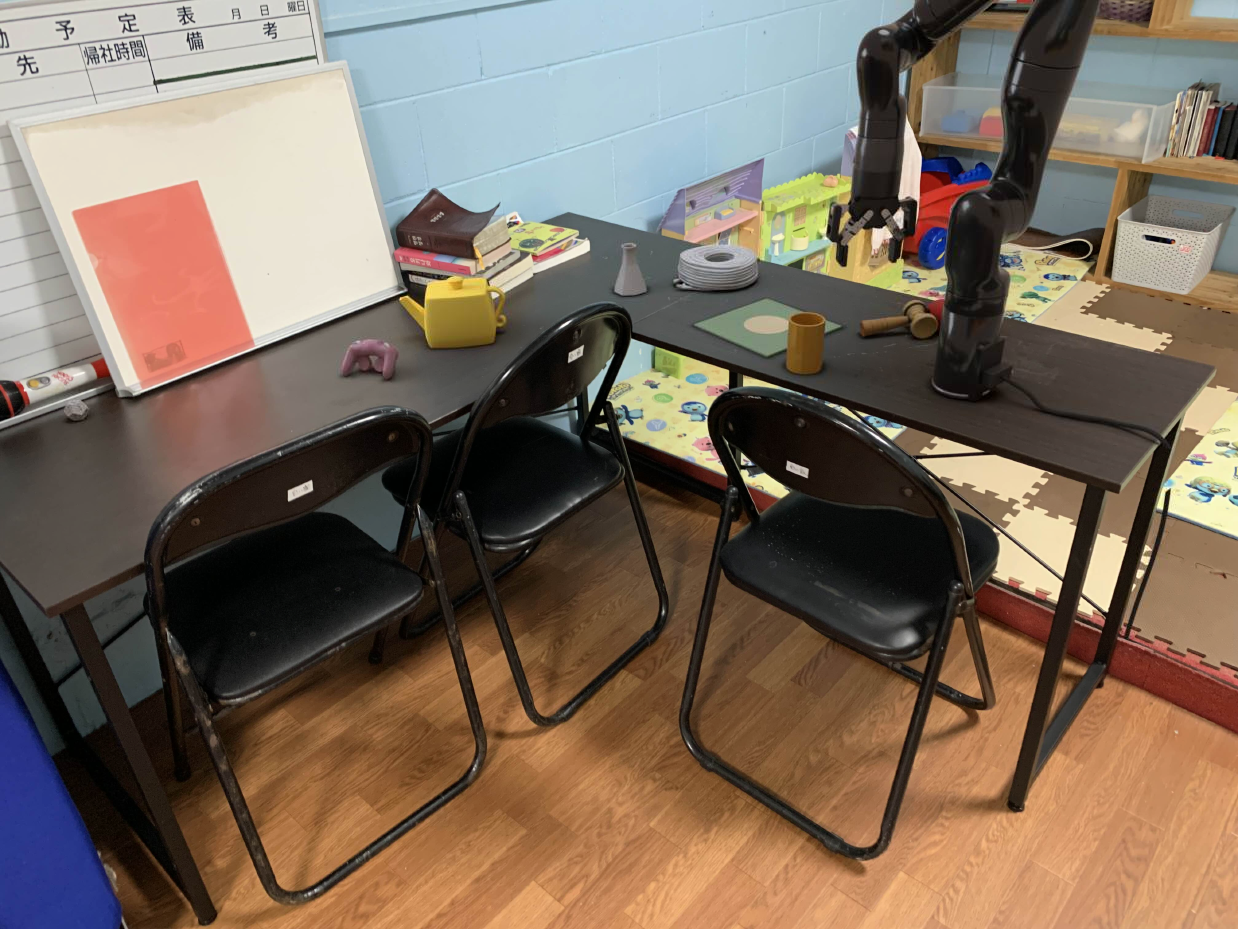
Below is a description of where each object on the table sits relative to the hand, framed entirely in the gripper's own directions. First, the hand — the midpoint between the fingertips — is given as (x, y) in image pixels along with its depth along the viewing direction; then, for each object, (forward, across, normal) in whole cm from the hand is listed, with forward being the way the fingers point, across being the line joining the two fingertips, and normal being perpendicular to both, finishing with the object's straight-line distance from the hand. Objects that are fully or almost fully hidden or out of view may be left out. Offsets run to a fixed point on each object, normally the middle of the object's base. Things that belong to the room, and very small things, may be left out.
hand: (867, 263), depth 154 cm
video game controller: (+19, -86, +15) cm, 89 cm away
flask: (+19, -34, +46) cm, 60 cm away
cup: (+18, -9, +1) cm, 21 cm away
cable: (+19, -15, +48) cm, 53 cm away
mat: (+19, -11, +20) cm, 29 cm away
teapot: (+19, -71, +29) cm, 79 cm away
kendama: (+19, +14, +11) cm, 26 cm away
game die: (+19, -135, +8) cm, 136 cm away
